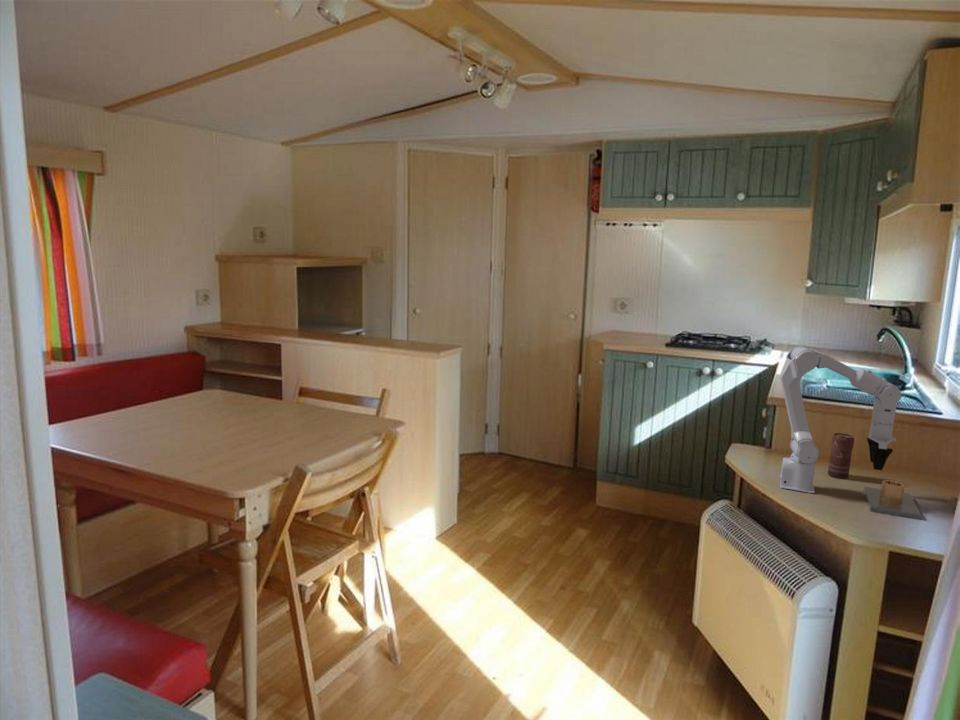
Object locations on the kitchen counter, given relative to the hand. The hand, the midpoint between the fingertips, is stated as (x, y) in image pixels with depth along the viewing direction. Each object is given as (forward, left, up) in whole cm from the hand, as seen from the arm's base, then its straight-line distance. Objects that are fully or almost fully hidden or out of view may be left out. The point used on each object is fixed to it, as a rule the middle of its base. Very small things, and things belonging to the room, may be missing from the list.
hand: (876, 465), depth 196 cm
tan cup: (+4, -6, -8) cm, 11 cm away
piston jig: (+4, -6, -9) cm, 12 cm away
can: (-8, +15, -10) cm, 20 cm away
